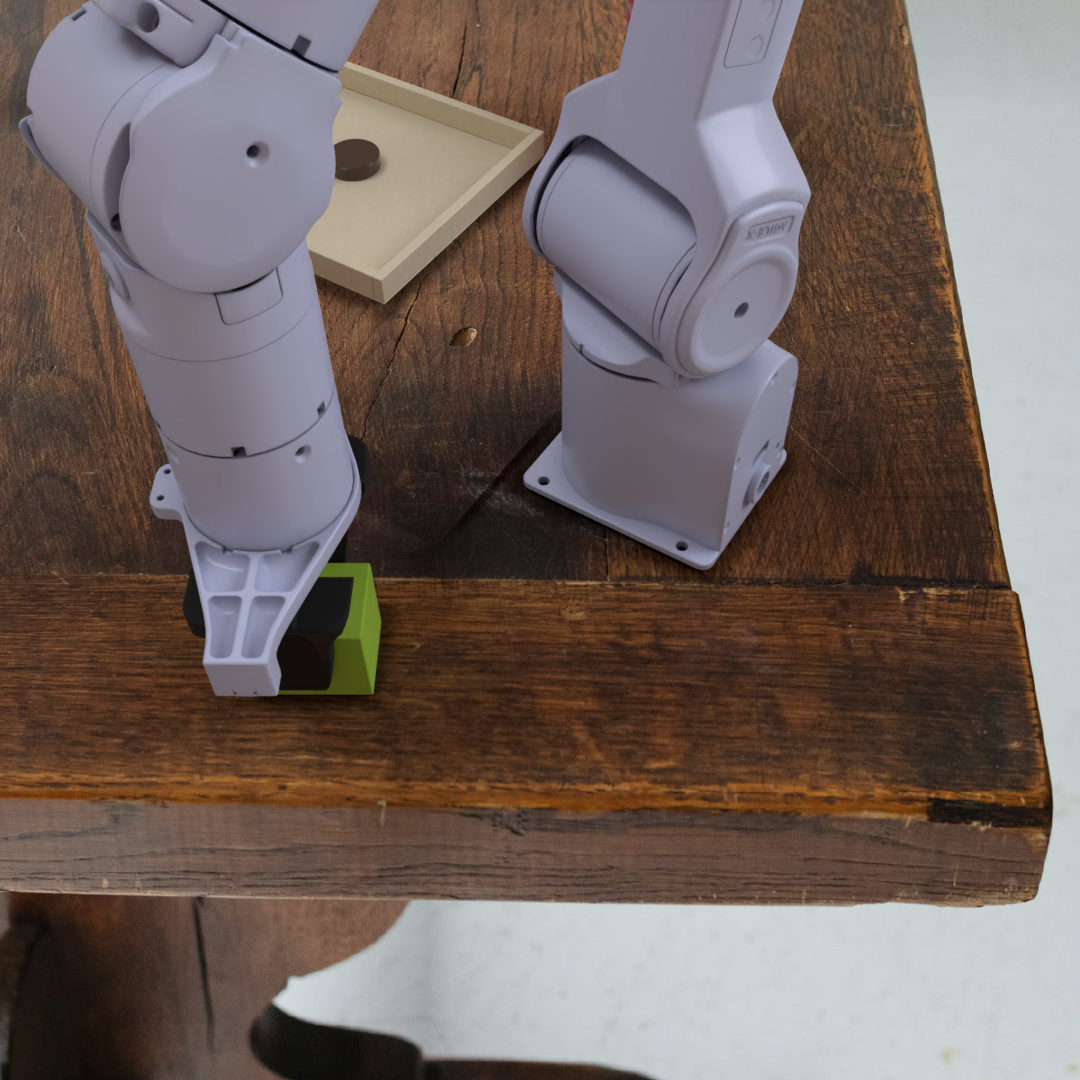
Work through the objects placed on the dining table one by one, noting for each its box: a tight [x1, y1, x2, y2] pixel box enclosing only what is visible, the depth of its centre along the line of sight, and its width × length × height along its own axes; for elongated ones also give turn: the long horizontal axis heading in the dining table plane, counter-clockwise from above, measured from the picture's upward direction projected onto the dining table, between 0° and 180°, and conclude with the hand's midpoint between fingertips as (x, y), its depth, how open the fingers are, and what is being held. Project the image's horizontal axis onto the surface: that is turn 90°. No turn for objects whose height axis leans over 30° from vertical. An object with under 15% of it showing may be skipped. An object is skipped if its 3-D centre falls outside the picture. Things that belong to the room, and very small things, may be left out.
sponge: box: [278, 562, 382, 696], centre depth 49 cm, size 5×4×4 cm
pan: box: [306, 60, 545, 305], centre depth 70 cm, size 17×15×2 cm
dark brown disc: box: [334, 139, 381, 181], centre depth 71 cm, size 3×3×1 cm
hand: (311, 637), depth 50 cm, fingers closed on sponge, 3 cm apart
